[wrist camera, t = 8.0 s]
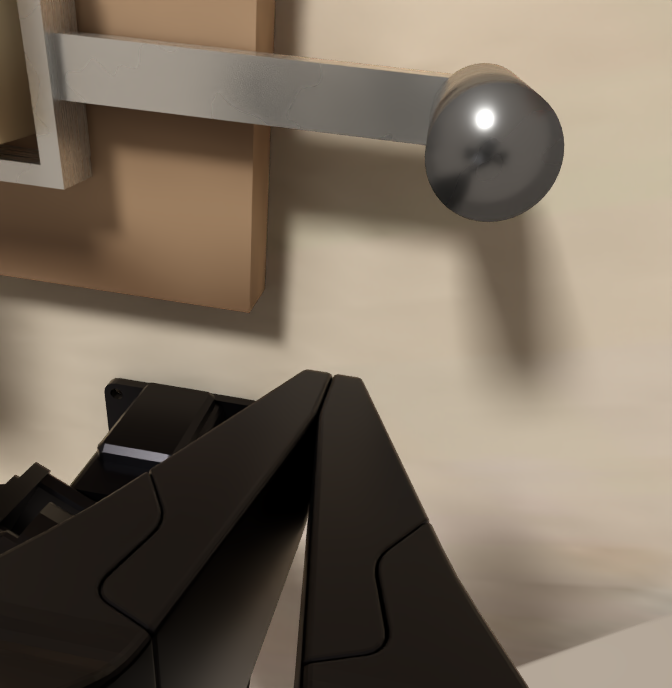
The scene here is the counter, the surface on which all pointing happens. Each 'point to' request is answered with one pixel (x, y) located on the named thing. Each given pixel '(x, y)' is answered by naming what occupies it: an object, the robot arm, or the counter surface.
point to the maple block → (13, 78)
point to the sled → (288, 108)
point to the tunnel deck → (155, 180)
